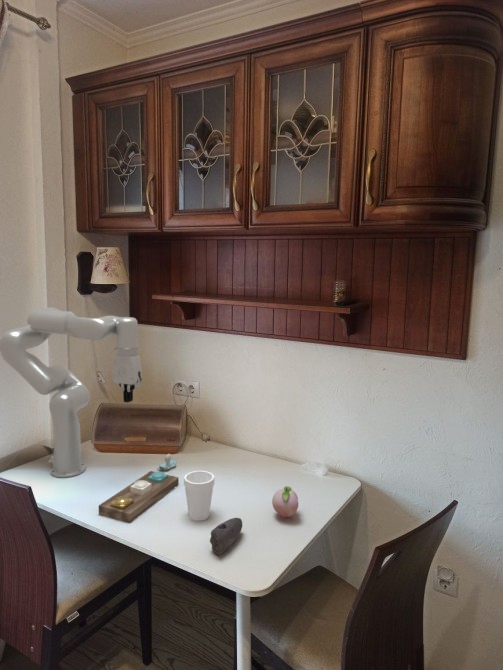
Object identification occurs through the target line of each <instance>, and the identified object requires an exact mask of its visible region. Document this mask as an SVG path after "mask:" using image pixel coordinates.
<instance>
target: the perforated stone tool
mask: <svg viewBox="0 0 503 670" xmlns="http://www.w3.org/2000/svg"><path fill="white" fill-rule="evenodd" d="M242 520H243V519H241V518H240V517H233V518H229V519H228V520H225V521H224V522H222V523H219V524H218V525H217V526H216V527H215V528H213V529H212V530H211V531H210V539H209V543H210V545H211V549H212V551H214V553H216V554H217V555H221V554H223V553H224V552H225V551H227V550H228V549H229V548H230V547H231V546H232V545H233V544H234V543H235V542H236V540H237V539H238V538H239V536H240V534H241V532H242V529H243V521H242Z"/></svg>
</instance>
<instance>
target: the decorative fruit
mask: <svg viewBox="0 0 503 670" xmlns="http://www.w3.org/2000/svg"><path fill="white" fill-rule="evenodd" d="M271 504H272V508H273V510H274V511H275V512H276V514H278V516H281V517H283V518H289V517H292V516H294V515H295V514H296V513H297V510H298V509H299V497H298V495H297V493H296V491H295V490H293V489H292V487H291V486H288V485H286V486H284V487H283V488H281V489H279V490H277V491H276V492H274V494H273V496H272V501H271Z"/></svg>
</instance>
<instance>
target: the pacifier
mask: <svg viewBox="0 0 503 670" xmlns="http://www.w3.org/2000/svg"><path fill="white" fill-rule="evenodd" d="M176 464H177V461H176V460H174V459H172V454H170V453H168V454H166V455H165V458H164V462H163V463H161V464H159V465H158V466H157V470H159V471H169V470H171V469H172V468H174V467H175V466H176Z"/></svg>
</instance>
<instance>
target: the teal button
mask: <svg viewBox="0 0 503 670" xmlns="http://www.w3.org/2000/svg"><path fill="white" fill-rule="evenodd" d="M153 472H154V473H153V474H152V475H151V476H149V477H148V481H152V482H157V483H161V482H163V481H164V480H166V479H167V478H168V475H169V474H166V473H164V472H162V471H153Z"/></svg>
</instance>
